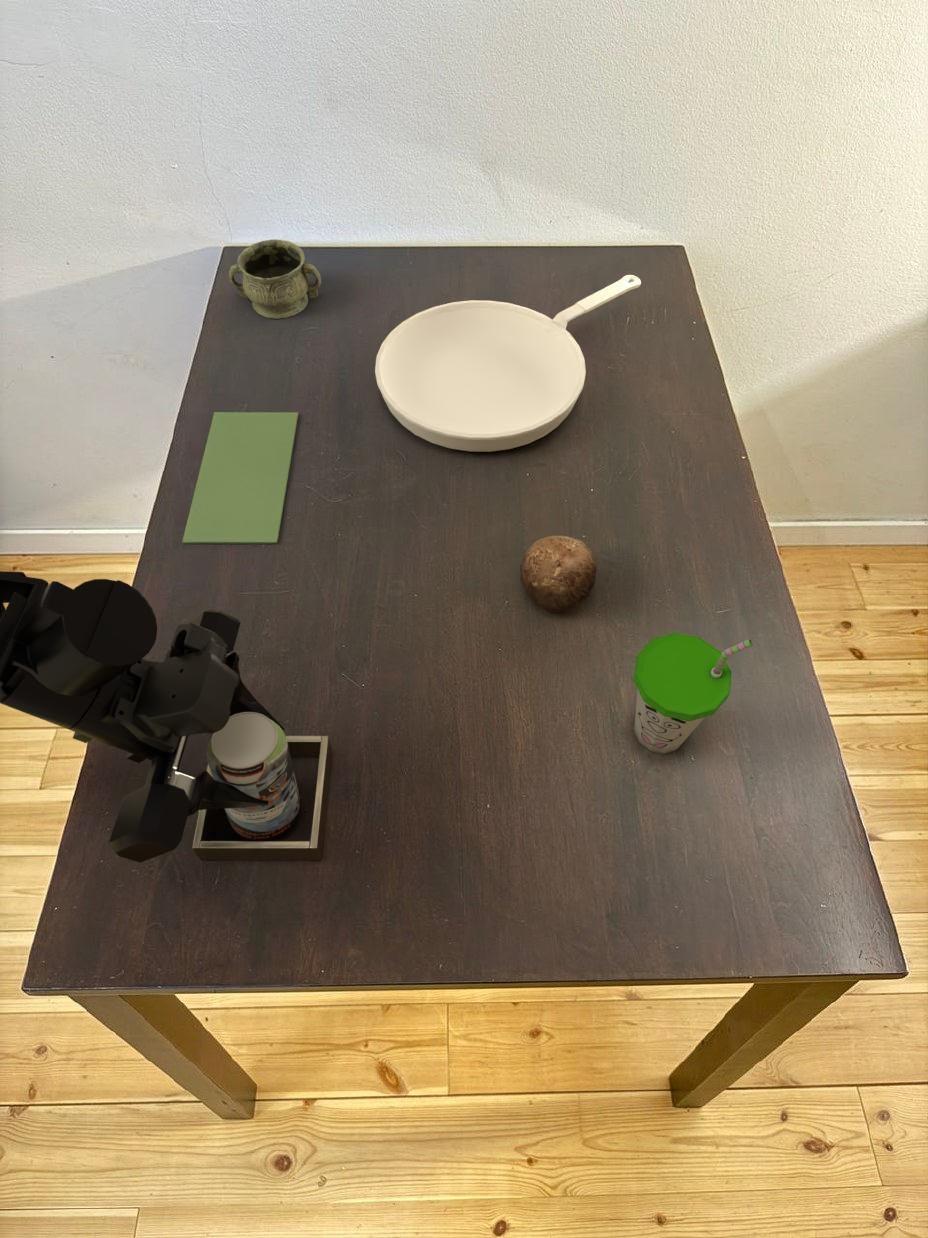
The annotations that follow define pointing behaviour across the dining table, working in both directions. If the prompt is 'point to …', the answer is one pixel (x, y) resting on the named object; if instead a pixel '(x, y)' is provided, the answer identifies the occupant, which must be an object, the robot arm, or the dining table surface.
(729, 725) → the dining table surface
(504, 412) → the pan
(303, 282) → the vessel
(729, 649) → the cup
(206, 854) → the frame
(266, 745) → the beverage can
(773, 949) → the dining table surface
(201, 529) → the green mat
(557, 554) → the mushroom
